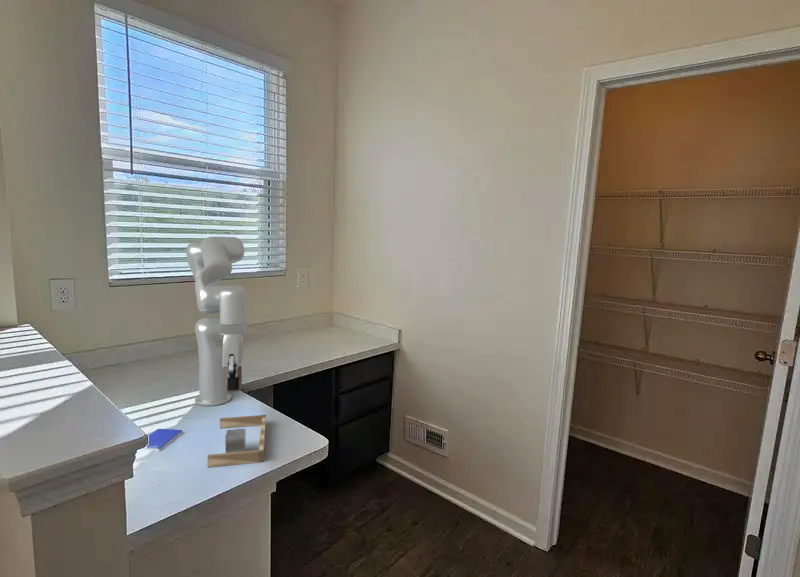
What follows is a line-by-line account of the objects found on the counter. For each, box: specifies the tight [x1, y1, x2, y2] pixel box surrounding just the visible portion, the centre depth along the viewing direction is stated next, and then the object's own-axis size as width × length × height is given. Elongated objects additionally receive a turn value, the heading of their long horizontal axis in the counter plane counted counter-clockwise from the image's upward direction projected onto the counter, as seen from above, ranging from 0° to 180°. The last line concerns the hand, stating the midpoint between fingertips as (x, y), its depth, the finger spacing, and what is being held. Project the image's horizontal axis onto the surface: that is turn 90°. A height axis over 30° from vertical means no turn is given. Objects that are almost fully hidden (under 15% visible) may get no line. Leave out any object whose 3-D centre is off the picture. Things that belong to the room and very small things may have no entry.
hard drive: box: [141, 428, 183, 452], centre depth 134 cm, size 2×8×12 cm
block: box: [224, 428, 247, 453], centre depth 128 cm, size 4×5×6 cm
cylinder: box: [226, 365, 243, 393], centre depth 137 cm, size 4×4×7 cm
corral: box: [207, 414, 267, 468], centre depth 134 cm, size 26×14×3 cm, turn 15°
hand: (234, 386), depth 137 cm, fingers closed on cylinder, 4 cm apart
